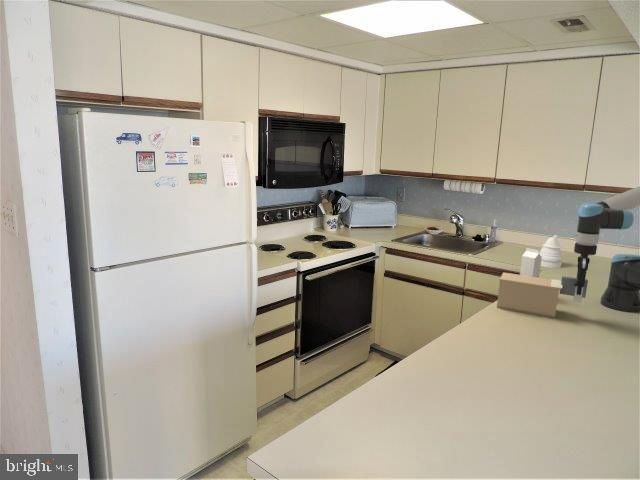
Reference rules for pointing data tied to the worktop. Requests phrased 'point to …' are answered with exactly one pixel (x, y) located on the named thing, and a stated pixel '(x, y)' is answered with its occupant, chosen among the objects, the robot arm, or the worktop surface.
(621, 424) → the worktop surface
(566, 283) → the flap
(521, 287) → the carton
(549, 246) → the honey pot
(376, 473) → the worktop surface
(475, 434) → the worktop surface
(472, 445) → the worktop surface
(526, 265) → the milk
